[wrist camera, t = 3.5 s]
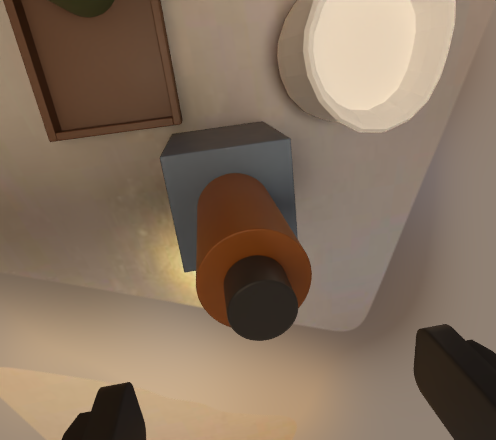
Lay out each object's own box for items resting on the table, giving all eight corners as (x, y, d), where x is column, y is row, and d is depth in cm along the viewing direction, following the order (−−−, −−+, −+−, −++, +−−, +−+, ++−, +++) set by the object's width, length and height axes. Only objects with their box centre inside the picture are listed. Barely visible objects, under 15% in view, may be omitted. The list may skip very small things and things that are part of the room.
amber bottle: (203, 248, 23) (207, 375, 13) (191, 178, 22) (183, 264, 11) (274, 236, 24) (330, 352, 14) (267, 167, 22) (326, 241, 12)
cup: (360, -39, 27) (439, -99, 18) (398, 83, 31) (479, 84, 22) (251, 23, 28) (276, -5, 19) (302, 136, 32) (343, 158, 23)
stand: (188, 219, 33) (184, 272, 24) (171, 133, 30) (159, 157, 21) (271, 206, 34) (298, 253, 24) (263, 121, 31) (290, 138, 21)
